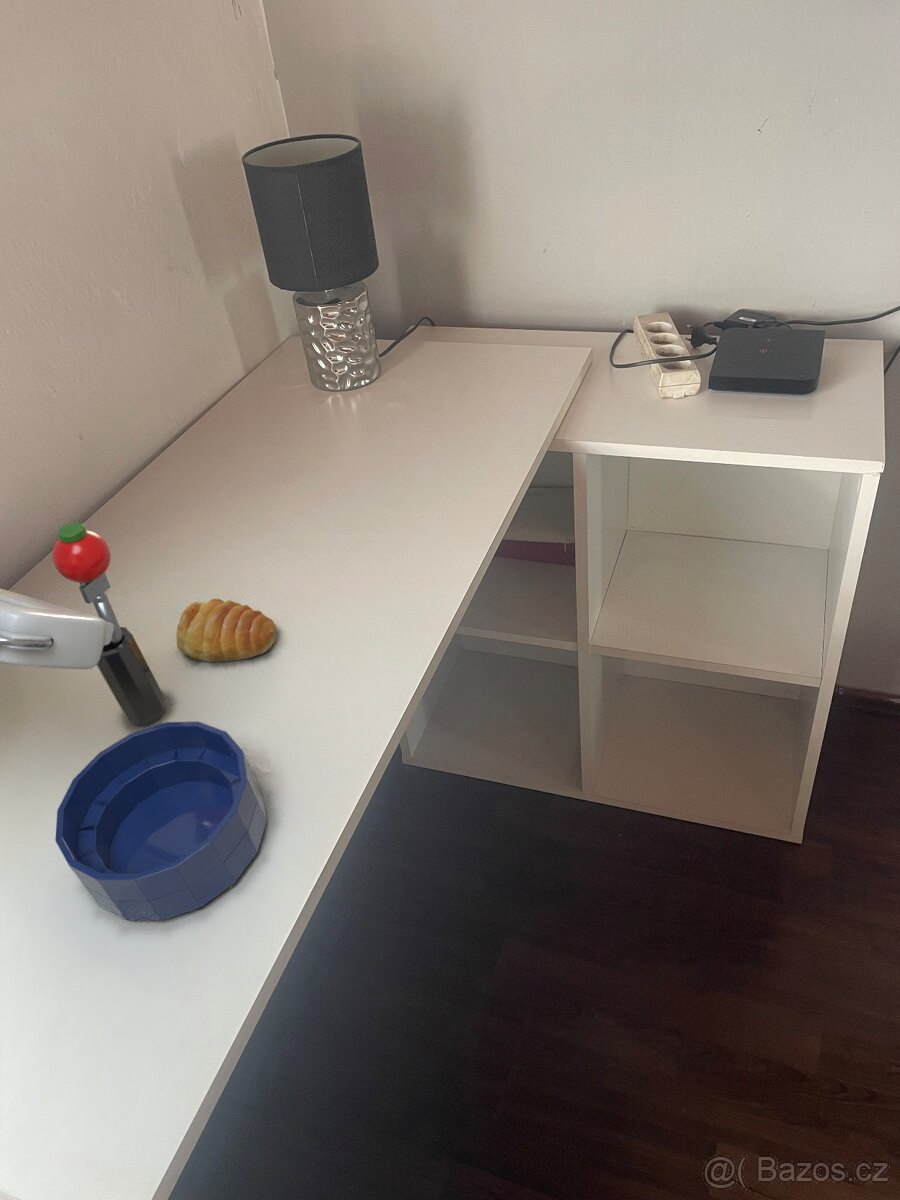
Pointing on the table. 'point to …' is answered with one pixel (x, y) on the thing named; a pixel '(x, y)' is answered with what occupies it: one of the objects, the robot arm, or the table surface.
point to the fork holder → (132, 682)
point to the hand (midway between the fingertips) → (62, 619)
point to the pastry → (224, 631)
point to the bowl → (162, 820)
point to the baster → (87, 569)
